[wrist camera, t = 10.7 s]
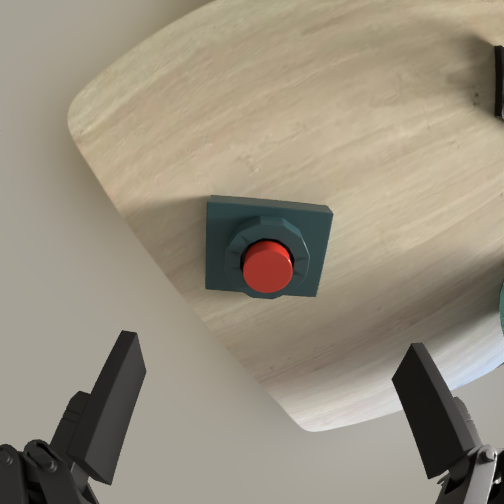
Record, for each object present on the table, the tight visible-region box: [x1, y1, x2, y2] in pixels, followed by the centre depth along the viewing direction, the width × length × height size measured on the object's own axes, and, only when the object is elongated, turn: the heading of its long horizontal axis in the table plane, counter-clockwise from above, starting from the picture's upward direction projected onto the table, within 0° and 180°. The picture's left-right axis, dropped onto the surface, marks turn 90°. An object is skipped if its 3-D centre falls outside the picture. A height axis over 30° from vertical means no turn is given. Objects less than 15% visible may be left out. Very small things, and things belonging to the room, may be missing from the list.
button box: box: [205, 195, 333, 299], centre depth 24 cm, size 10×8×4 cm
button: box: [243, 241, 292, 293], centre depth 22 cm, size 4×4×2 cm
